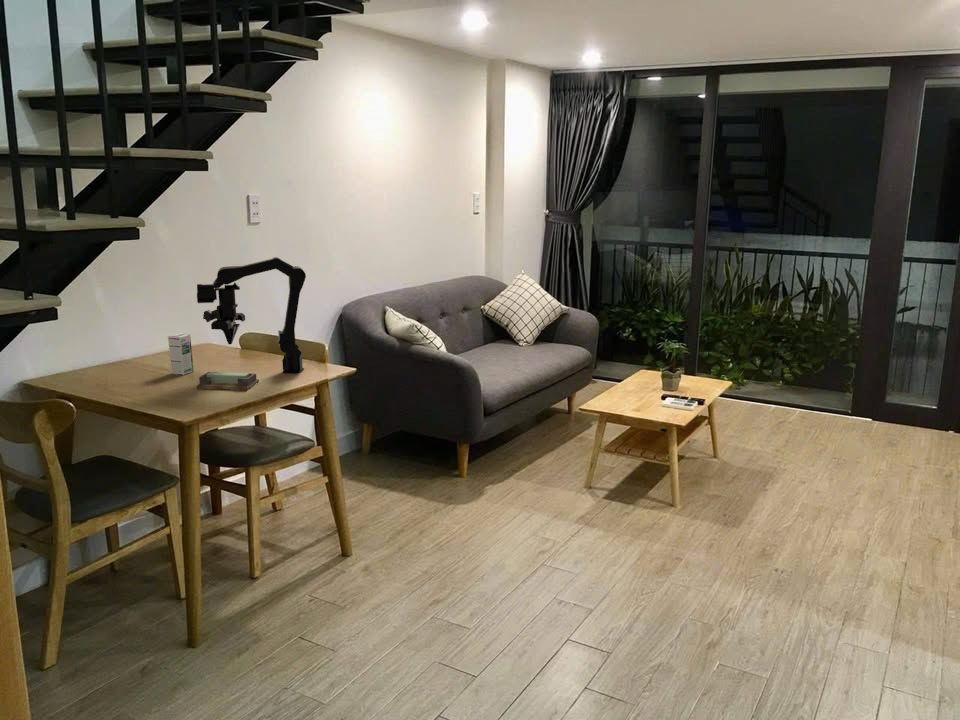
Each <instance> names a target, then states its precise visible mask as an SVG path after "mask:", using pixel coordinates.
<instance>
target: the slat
mask: <svg viewBox="0 0 960 720" xmlns="http://www.w3.org/2000/svg"><path fill="white" fill-rule="evenodd" d="M209 372H210V373H208V374H206V377H211V383H228V384H238V378H248V377H249V372H247V373H246V372H222V371H221V372H219V371H209Z"/></svg>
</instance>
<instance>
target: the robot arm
mask: <svg viewBox="0 0 960 720" xmlns="http://www.w3.org/2000/svg"><path fill="white" fill-rule="evenodd" d="M272 270H277V271H279V272H280V273H282V274H284V275H286V276H287V277H288V289H289V293H288V298H287V306H286V312H285V317H284V318H285V319H284V326H283V328H282V330H278V332H277V333H278V336H277V340H276V343H277V345H278V346H279V349H280V351H281V352H282V353H284V355H283V358H282V359H281V361H282V363H281V364H282V373H289V374H291V373H293V374H299V373H301V372H302V371H304V370H305V368H304V367H303V354H302V350H301V348H300V346H299V345H298V344H296V333H295V330H296V329H295V328H296V321H297V313H298V309H299V301H300V294H301V292H302V289H303V286H304V284H305V281H306V277H307V276H306V272H305V271H304V270H303V268H302V267H300V266H293V265H291V264H290V263H288V262H286V261H284V260H282V259H281V258H279V257H278V256H275V257H272V258H269V259H265V260H261V261H257V262H253V263H249V264H244V265H238V266H237V265H232V266H223V267H222V266H221V267H219V269H218V270H217V275H216V279H215V280H213V282H212V283H210V284H206V283H205V284H202V283H197V285H196V291H197V292H196V301H197V304H209V303H215V301H217V300H218V305H217V306H216V309H214V310H210V309H207V310H205V311H203V314H202V316H203V317H202V319H203V320H205V321H206V323H209V322H211V321H212V322H211V324H210V328H211V330H220V331H222V333H224V336H225V339H226V342H227V344H228V345H232V344H233V342H234V340H235V337H236V334H237V331H238V329H239V327H240V326H241V324H240V323H237V321H240V322H245V321H246V315H245V314H244V313H243V312H237V308H238V303H236V292H235V291H239V290H241V287H240V286H238V284H237V283H236V282H237V281H238V280H240V279H242V278H244V277H249V276H252V275H257V274H260V273H266V272H268V271H272ZM232 283H233V284H232ZM222 286H223V287H222ZM217 293H218V295H217ZM217 296H218V297H217Z"/></svg>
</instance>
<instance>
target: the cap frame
mask: <svg viewBox="0 0 960 720" xmlns="http://www.w3.org/2000/svg"><path fill="white" fill-rule="evenodd" d="M210 372H211V371H207V372H206V373H204V374H202V375H200V376H199V379H198V380H199V384H197V385H196V389H197V388H198V389H197V390H199V389H200V390H219V389H230V390H229V391H246V390H248V389H249V388H250V389H251V387H252V386H253V387H255V386H256V385H257V384H259V383H260V380H259V378H257V373H255V372H254V373H253V372H252V373H249V372H248V373H249V377H248V378H238V384H228V383H211V377H206V374H208V373H210ZM258 382H259V383H258ZM256 383H257V384H256ZM255 384H256V385H255ZM254 385H255V386H254ZM253 387H252V388H253ZM250 389H249V390H250ZM249 390H248V391H249Z"/></svg>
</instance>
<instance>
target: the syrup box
mask: <svg viewBox="0 0 960 720" xmlns="http://www.w3.org/2000/svg"><path fill="white" fill-rule="evenodd" d="M191 337H192V336H191V333H184V332H183V333H181V332H180V333H176V334H172V335H168V336H167V340H168V341H167V342H168V353H169V361H170V372H171V374H173V375H178V374H182V376H184V374H185V375H187V374H191V373H193V372H194V361H193V360H194V359H193V349H192V338H191Z"/></svg>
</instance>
